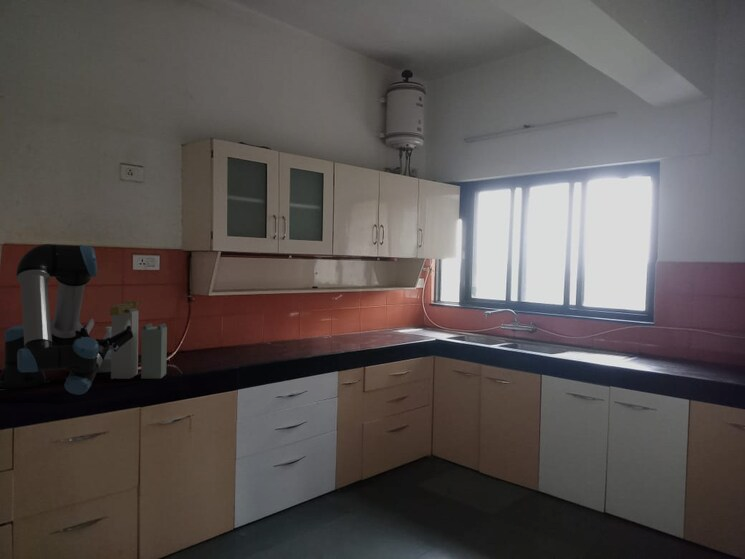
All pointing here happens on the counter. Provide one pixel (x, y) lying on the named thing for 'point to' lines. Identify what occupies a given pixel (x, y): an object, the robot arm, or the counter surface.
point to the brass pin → (123, 307)
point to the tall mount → (125, 347)
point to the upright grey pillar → (153, 351)
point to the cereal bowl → (105, 364)
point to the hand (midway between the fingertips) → (111, 321)
